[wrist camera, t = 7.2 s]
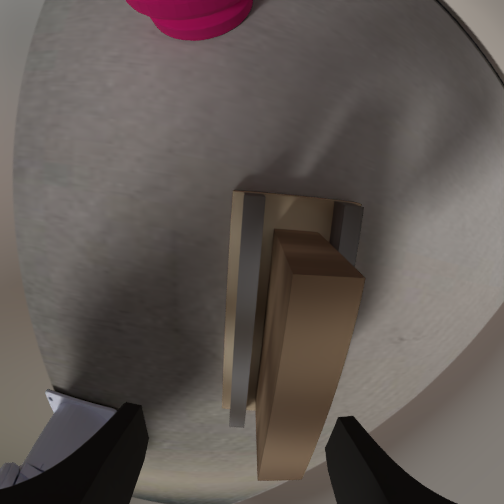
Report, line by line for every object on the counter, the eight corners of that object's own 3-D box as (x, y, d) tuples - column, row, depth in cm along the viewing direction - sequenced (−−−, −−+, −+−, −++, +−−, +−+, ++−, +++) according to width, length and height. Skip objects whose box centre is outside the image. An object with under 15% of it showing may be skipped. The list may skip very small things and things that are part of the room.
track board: (314, 401, 20) (321, 427, 18) (223, 399, 20) (220, 426, 17) (355, 202, 16) (374, 208, 14) (233, 190, 16) (230, 194, 13)
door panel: (293, 399, 19) (307, 479, 12) (255, 398, 19) (257, 480, 12) (323, 232, 16) (373, 278, 9) (274, 228, 16) (292, 274, 9)
